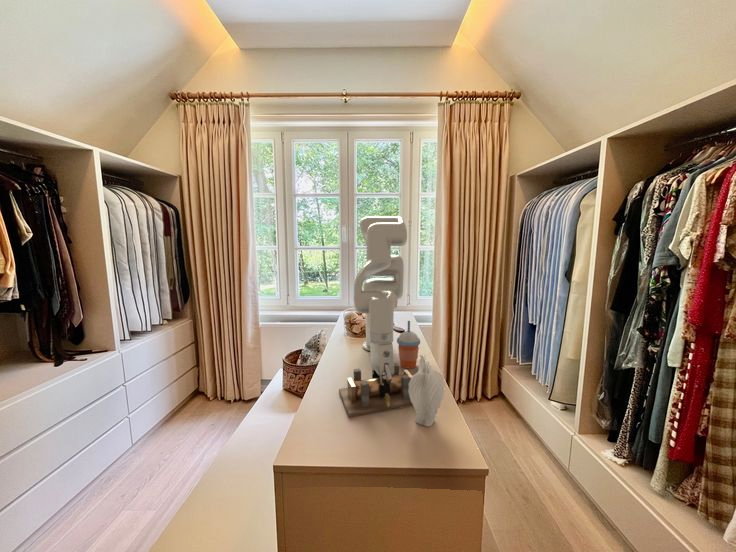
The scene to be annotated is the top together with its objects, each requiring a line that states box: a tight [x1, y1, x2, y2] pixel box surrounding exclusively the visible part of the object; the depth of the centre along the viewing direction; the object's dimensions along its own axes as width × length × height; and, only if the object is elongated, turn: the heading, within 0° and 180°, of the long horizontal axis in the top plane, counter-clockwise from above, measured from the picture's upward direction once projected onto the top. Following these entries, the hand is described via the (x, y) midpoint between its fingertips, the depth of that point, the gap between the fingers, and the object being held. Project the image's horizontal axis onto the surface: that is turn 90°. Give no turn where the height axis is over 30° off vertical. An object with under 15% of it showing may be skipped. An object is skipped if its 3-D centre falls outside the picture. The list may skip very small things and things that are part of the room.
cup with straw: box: [396, 320, 421, 369], centre depth 115 cm, size 9×9×18 cm
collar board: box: [338, 363, 414, 418], centre depth 93 cm, size 14×24×8 cm, turn 107°
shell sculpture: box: [408, 354, 446, 427], centre depth 80 cm, size 8×8×18 cm
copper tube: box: [346, 369, 413, 404], centre depth 93 cm, size 20×6×6 cm, turn 107°
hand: (380, 389), depth 93 cm, fingers open, 6 cm apart
